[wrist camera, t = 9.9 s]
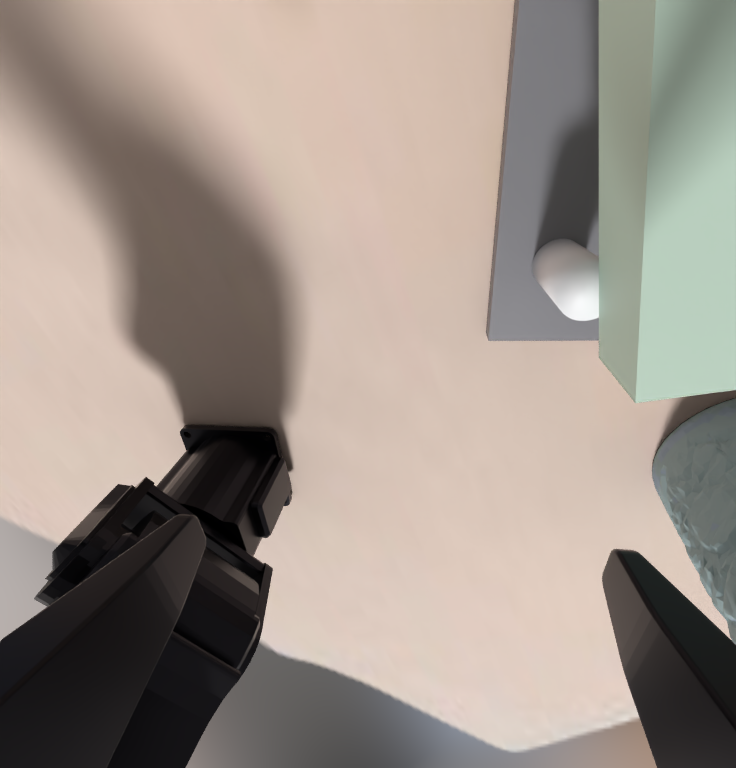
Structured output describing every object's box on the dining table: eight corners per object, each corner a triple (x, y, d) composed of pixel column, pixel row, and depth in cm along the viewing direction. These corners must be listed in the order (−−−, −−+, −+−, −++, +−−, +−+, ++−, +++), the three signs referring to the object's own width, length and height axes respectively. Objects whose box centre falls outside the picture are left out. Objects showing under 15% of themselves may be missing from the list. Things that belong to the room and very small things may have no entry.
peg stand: (486, 332, 19) (499, 382, 15) (561, -530, 9) (678, -1177, 5) (689, 331, 18) (770, 386, 13) (1074, -713, 7) (1976, -1945, 3)
